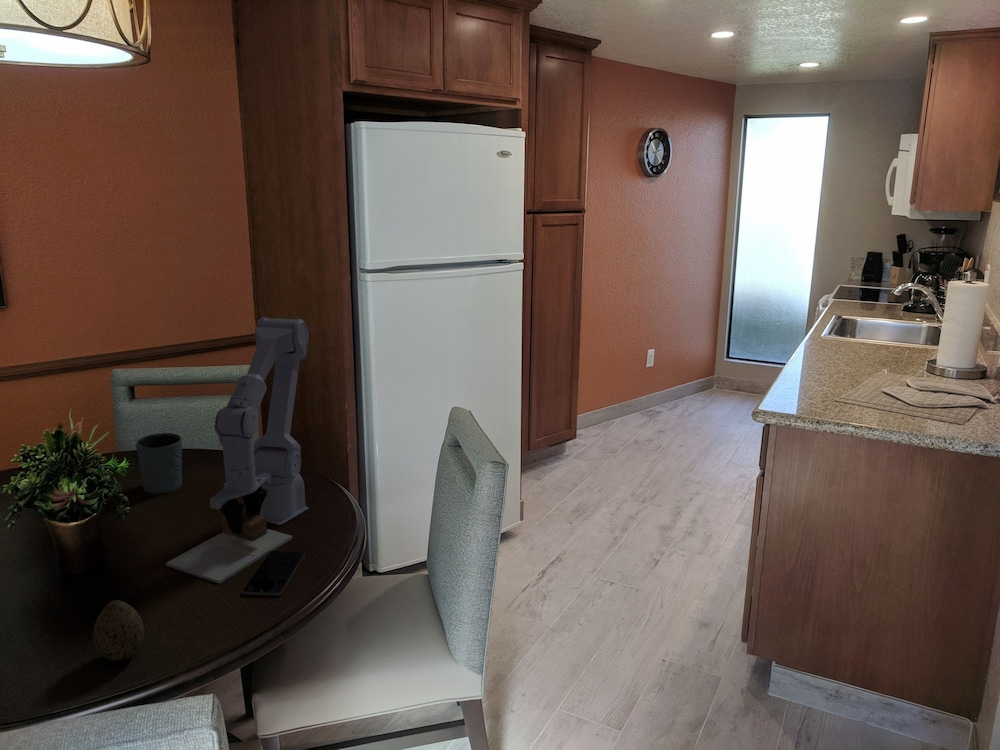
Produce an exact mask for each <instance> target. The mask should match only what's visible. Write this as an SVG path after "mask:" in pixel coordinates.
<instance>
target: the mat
mask: <svg viewBox="0 0 1000 750" xmlns="http://www.w3.org/2000/svg"><path fill="white" fill-rule="evenodd" d="M292 539H293V535H290V534H286V533H283V532H280V531H278V530H277V531H276V530H273V529H269V528H267V534H265V535H263V536H262V537H260V538H258V539H256V540H255V541H249V540H246V539H242V538H239V537H235V536H232V535H228V534H225V533H223V531H222V532H221V533H219V534H216V535H214V536H212V537H211V538H209V539H208V540H205V541H203V542H202V543H199V544H198V545H196V546H195V547H193V548H191V549H189V550H187V551H185V552H183V553H181V554H179V555H178V556H176V557H174V558H172V559H171V560H169V561H167V562H165V567H168V568H172V569H175V570H178V571H181V572H183V573H187V574H189V575H192V576H195V577H198V578H201V579H204V580H207V581H210V582H213V583H216V584H219V585H220V584H221V583H223V582H225V581H226V580H228V579H230V578H231V577H232V576H233V577H234V575H236V574H238V573H239V572H240V571H242V570H244V569H245V568H247V567H249V566H251V565H253V563H255V562H257V561H258V560H260V559H262V558H264V557H266V556H267V555H268V553H269V552H271V551H276V550H277V549H278V548H280V547H281V546H283V545H284V544H287V543H288V542H289V541H291V540H292Z"/></svg>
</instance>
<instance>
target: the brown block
mask: <svg viewBox="0 0 1000 750" xmlns="http://www.w3.org/2000/svg"><path fill="white" fill-rule="evenodd" d="M221 524H222V525H221V526H222V532H223V533H225V534H228V535H232V536H235V537H239V538H242V539H246V540H249V541H255V540H256V539H258V538H260V537H262V536H263V535H265V534H267V529H268V528H267V522H266V517H262V516H258V515H255V514H251V513H247V512H246V511H243V512H242V531H241V533H240V534H235V533H232V532H231V529H230V527H229V524H228V522H227V520H226V518H225V516H224V515H223V516H221Z"/></svg>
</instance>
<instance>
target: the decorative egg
mask: <svg viewBox="0 0 1000 750" xmlns="http://www.w3.org/2000/svg"><path fill="white" fill-rule="evenodd" d="M144 636H145V627H144V622H143V619H142V618H141V615H140V614H139V613H138V611H137V610H136V609H135V608H134V607H133V606H132V605H130V604H128V603H127V602H125V601H122V600H121V599H120V600H119V599H116V600H115V599H114V600H112V601H110V602H109V603H108V604H107V605H106V606H105V607H104V608H103V609H102V610H101V612H100V613H99V614H98V617H97V618H96V620H95V624H94V626H93V631H92V642H93V646H94V648H95V650H96V651H97V653H98V654H99V656H101V657H102V658H103V659H106V660H108V661H112V662H121V661H124V660H127V659H129V658H131V657H132V656H134V654H135V653H137V652H138V651H139V649H140V648H141V646H142V644H143V640H144Z"/></svg>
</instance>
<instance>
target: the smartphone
mask: <svg viewBox="0 0 1000 750" xmlns="http://www.w3.org/2000/svg"><path fill="white" fill-rule="evenodd" d="M305 556H306V553H305V552H304V551H296V550H295V551H294V550H293V551H291V550H273V551H271V552H269V553H268V554H267V555H265V557H264V559H263V560H262V562H261V564H260V565H259V567H258V568H257V569H256V571H255V572H254V573H253V574H252V576H251V578H250V579H249V581H248V582H247V583H246V584H245V586H244V588H243V589H242V591H241V594H242V595H243V596H255V597H257V596H258V597H279V596H281V595H282V593H283V592H284V591H285V589H286V588H287V586H288V584H289V582H290V581H291V579H292V577H293V576H294V574H295V572H296V570H297V569H298V568H299V566H300V565H301V562H302V560H303V559H304V557H305Z"/></svg>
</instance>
